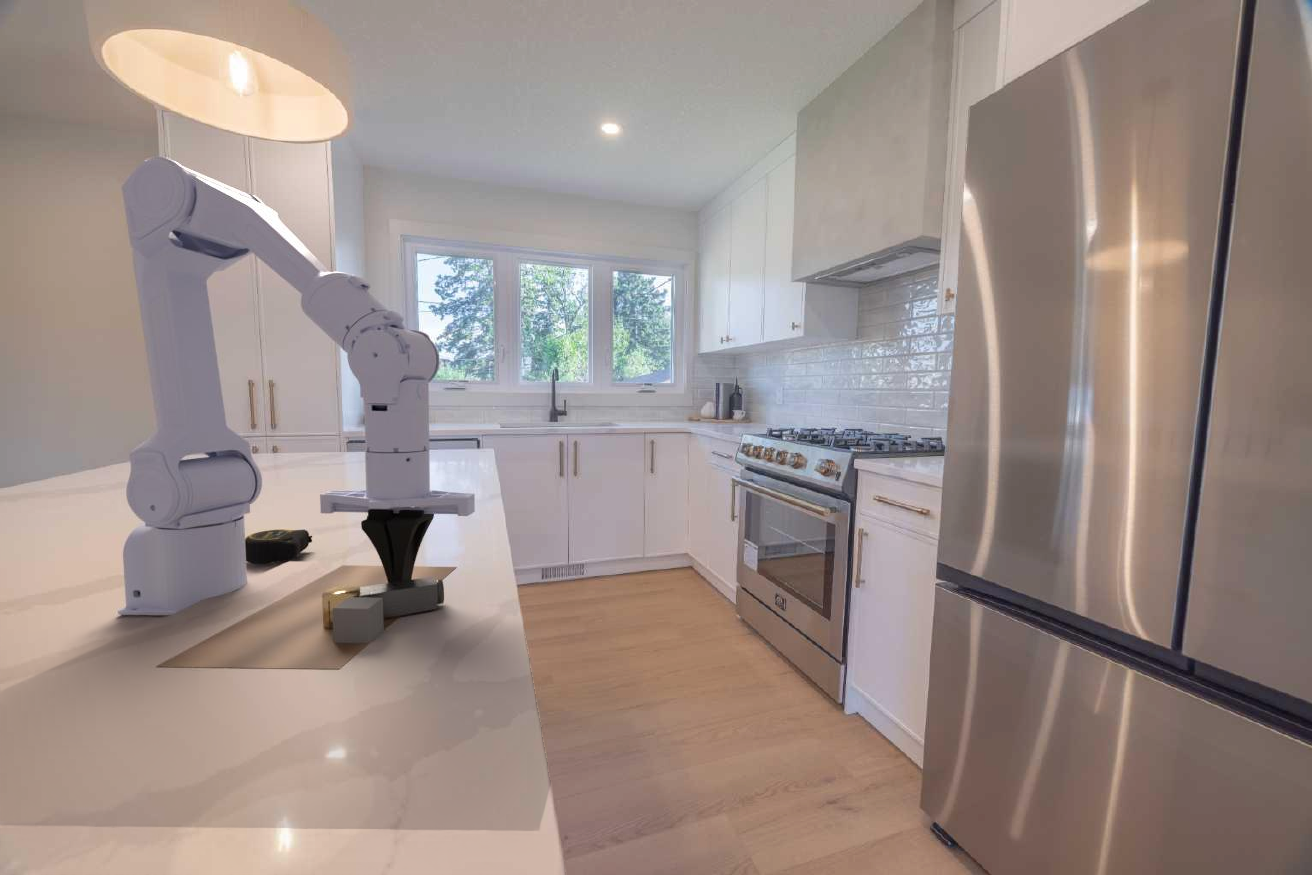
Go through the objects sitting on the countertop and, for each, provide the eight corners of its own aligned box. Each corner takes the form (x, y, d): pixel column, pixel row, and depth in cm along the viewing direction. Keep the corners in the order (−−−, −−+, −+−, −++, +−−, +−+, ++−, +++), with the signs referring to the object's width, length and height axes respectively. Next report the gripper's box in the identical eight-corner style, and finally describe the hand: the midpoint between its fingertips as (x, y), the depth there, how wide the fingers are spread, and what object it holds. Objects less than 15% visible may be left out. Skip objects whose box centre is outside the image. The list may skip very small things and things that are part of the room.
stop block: (333, 642, 44) (332, 608, 44) (350, 629, 46) (349, 597, 46) (368, 642, 44) (368, 608, 44) (383, 630, 46) (382, 597, 46)
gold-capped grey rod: (322, 630, 46) (321, 599, 45) (323, 617, 48) (322, 588, 48) (444, 608, 51) (444, 580, 51) (440, 598, 53) (439, 571, 53)
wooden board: (156, 685, 40) (155, 666, 40) (342, 577, 64) (342, 565, 64) (339, 687, 40) (339, 668, 40) (457, 578, 64) (457, 566, 64)
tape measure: (295, 567, 68) (295, 539, 68) (232, 571, 66) (231, 542, 65) (312, 552, 74) (312, 526, 74) (256, 555, 72) (255, 529, 72)
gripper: (297, 452, 47) (301, 597, 49) (455, 456, 48) (457, 599, 49) (343, 445, 55) (346, 571, 56) (481, 448, 55) (481, 574, 56)
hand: (400, 583), depth 53 cm, fingers closed
